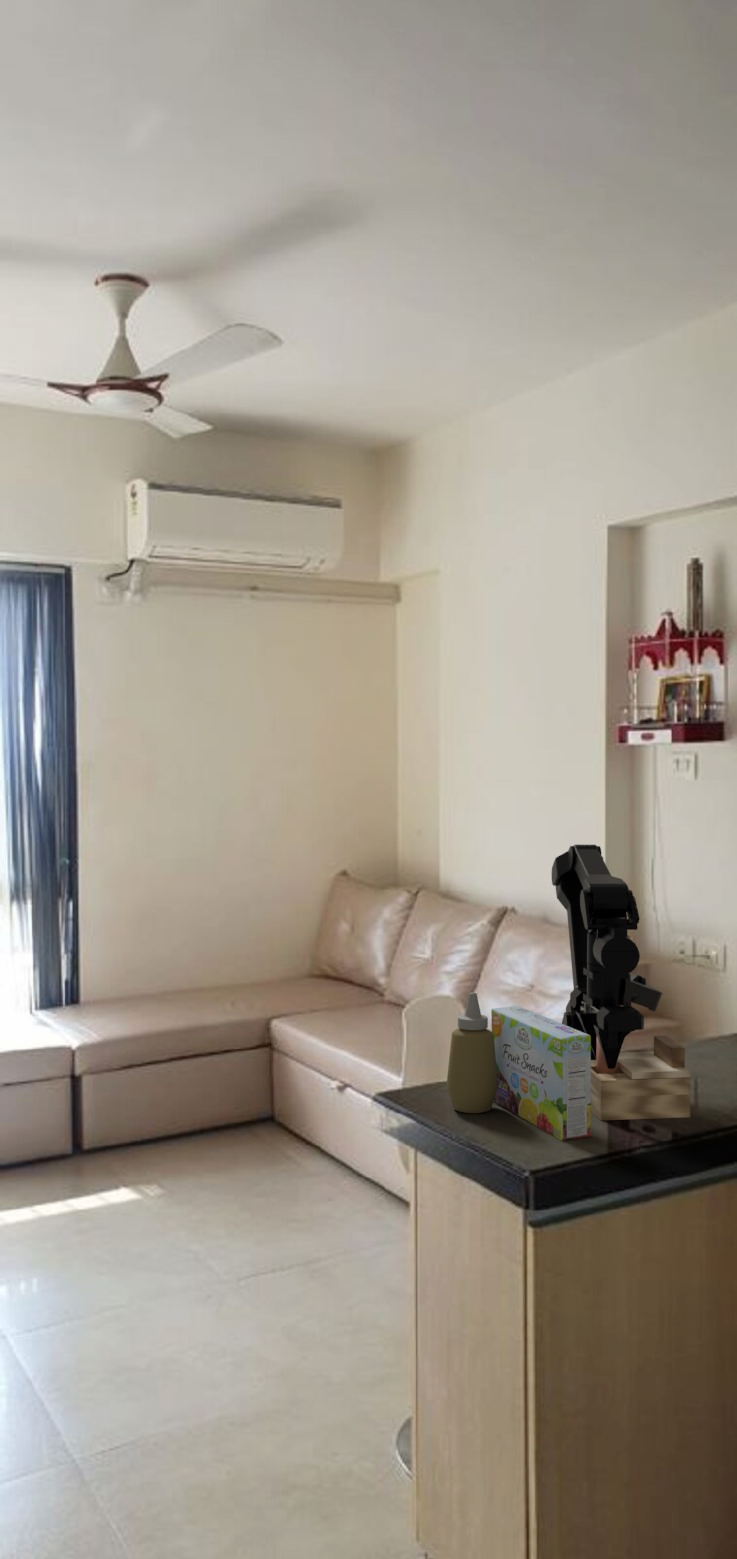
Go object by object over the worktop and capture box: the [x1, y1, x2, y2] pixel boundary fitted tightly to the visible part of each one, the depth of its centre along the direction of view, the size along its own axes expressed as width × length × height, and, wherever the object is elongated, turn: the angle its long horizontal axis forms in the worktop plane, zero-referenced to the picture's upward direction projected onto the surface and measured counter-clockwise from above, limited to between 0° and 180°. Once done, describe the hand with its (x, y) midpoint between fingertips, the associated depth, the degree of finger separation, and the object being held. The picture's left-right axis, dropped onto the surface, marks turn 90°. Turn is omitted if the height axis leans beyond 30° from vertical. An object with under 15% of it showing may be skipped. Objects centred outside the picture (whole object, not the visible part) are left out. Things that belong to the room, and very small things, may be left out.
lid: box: [617, 1035, 692, 1079], centre depth 196 cm, size 9×12×4 cm
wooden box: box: [591, 1060, 692, 1121], centre depth 196 cm, size 14×12×6 cm
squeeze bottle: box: [446, 992, 498, 1114], centre depth 195 cm, size 8×8×18 cm
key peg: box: [596, 1037, 617, 1074], centre depth 195 cm, size 3×3×8 cm
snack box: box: [490, 1005, 592, 1142], centre depth 190 cm, size 21×6×15 cm, turn 23°
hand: (604, 1063), depth 195 cm, fingers open, 6 cm apart
